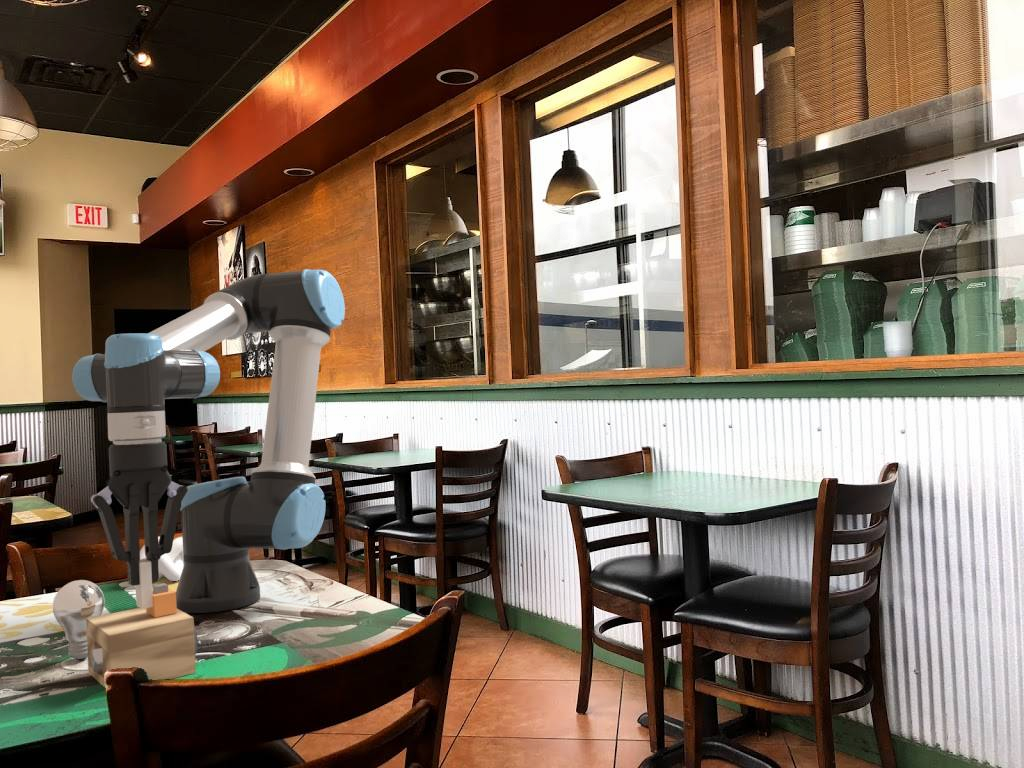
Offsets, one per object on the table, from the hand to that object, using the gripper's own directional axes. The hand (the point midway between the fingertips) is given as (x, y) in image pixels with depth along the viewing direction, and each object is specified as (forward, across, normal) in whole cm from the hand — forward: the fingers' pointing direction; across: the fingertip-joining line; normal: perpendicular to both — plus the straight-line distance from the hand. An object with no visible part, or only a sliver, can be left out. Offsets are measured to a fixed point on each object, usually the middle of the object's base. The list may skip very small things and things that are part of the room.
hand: (144, 606), depth 116 cm
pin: (+9, -1, 0) cm, 9 cm away
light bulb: (+10, -6, +13) cm, 17 cm away
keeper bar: (+1, +2, 0) cm, 3 cm away
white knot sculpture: (+10, +20, +59) cm, 63 cm away
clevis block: (+9, -1, 0) cm, 9 cm away
